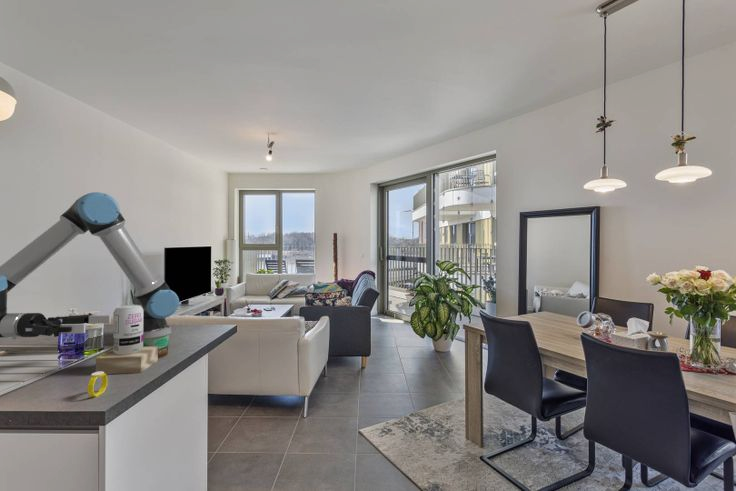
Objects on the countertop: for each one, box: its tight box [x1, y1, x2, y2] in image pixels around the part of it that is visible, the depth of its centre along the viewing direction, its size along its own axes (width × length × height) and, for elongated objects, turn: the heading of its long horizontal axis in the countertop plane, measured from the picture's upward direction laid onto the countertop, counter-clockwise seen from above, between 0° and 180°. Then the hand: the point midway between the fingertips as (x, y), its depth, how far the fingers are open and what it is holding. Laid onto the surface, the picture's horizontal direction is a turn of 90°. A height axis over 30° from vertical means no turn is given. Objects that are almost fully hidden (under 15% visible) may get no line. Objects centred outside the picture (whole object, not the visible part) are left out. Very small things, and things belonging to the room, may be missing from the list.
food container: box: [143, 324, 172, 359], centre depth 129 cm, size 12×6×10 cm, turn 168°
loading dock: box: [95, 346, 159, 375], centre depth 117 cm, size 12×13×5 cm
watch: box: [87, 371, 109, 398], centre depth 96 cm, size 6×3×6 cm, turn 4°
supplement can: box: [112, 304, 143, 355], centre depth 117 cm, size 8×8×15 cm
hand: (98, 323), depth 116 cm, fingers open, 13 cm apart
